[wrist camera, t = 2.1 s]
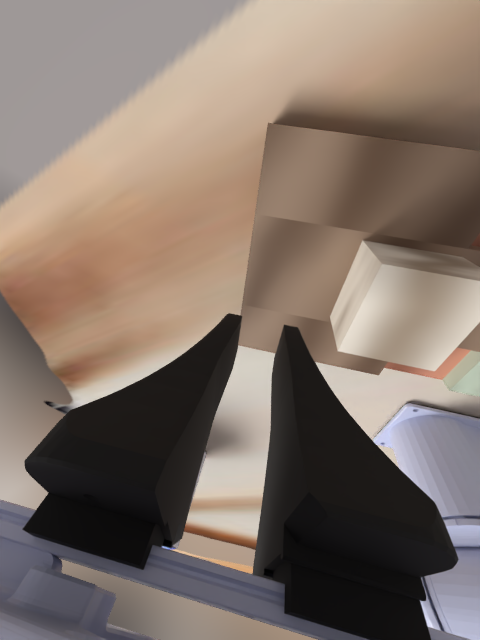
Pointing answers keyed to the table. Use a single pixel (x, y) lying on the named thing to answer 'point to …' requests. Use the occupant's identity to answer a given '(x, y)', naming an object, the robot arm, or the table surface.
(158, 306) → the table surface
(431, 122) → the table surface
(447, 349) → the birch block
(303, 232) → the trap board
